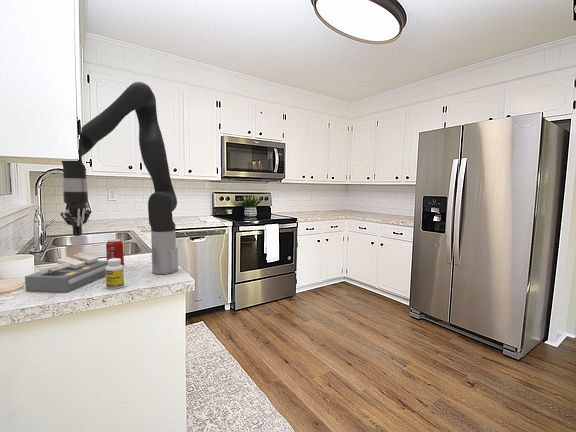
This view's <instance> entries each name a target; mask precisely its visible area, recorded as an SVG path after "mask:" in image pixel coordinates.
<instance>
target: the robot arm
mask: <svg viewBox="0 0 576 432" xmlns="http://www.w3.org/2000/svg"><path fill="white" fill-rule="evenodd" d="M133 111H134V112H135V114H136V117H137V121H138V142H139V143H138V145H139V150H140V154H141V160H142V162H143V165H144V166H145V168H146V171H147V172H148V174H149V176H150V177H151V180H152V183H153V189H154V192H153V193H151V195H150V196H149V197H148V201H147V212H148V223H149V226H150V232H151V234H150V236H151V238H150V239H151V267H152V270H151V272H152V274H155V275H167V274H173V273H175V272H176V271H178V270H179V249H178V248H179V247H178V246H177V245H176V244H177V243H176V242H177V241H176V239H177V238H176V223H175V222H174V219H173V212H174V210H175V209H176V208H177V206H178V201H177V196H176V193H175V189H174V185H173V183H172V179H171V176H170V175H171V173H170V168H169V163H168V158H167V157H168V156H167V152H166V147H165V143H164V138H163V135H162V130H161V128H160V126H159V121H158V113H157V100H156V95H155V94H154V92H153V90H152V88H151V87H150V86H149V85H148V84H147V83H145V82H142V81H134V82H132V83H131V84H130V85H129V86H128V87H126V88H125V89H124V91H123V92H122V93H121V94H120V96H118V97H117V98H116V99H115V100H114V101H113V102H112V103H111V104H109V106H108V107H106V108H105V109H104V110H103V111H101V112H100V113H98V115H96V116H95V117H93V118H92V119H91V120H89V121H88V122H87V123H85V124H84V125H83V126H82V127H81V129H80V132H81V134H80V139H79V160H78V161H61V164H62V177H63V180H62V181H63V182H62V190H63V202H64V204H66V206H65V211H63V212H60V213H59V214H60V216H61V217H62V219H63V220H64V222H65V223H66V224H67V226H71V227H72V234H73V236H75V237H79V236H82V235H83V228H82V227H83V225H85V224H87V222H88V220H89V218H90V216H91V213H92V210H91V209H90V210H88V209H87V205H86V204H87V203H88V202H89V195H88V182H87V181H88V180H87V169H86V166H85V164H84V162H83V156H85V155H86V154H87V153H89V152H90V150H92V149H93V148H94V147H95V145H96V144H98V143H99V141H101V140H103V139H104V138H106V137H107V136H108V135H110V134H111V133H112V132H113V131H114V130H115V129H116V128H117V127H118V126H119V124H120V123H121V122H122V120H124V119H125V118H126V116H128V115H129V114H130V113H132V112H133Z"/></svg>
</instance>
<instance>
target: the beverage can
mask: <svg viewBox="0 0 576 432" xmlns="http://www.w3.org/2000/svg"><path fill="white" fill-rule="evenodd" d="M105 245H106V246H105V249H106V250H105V252H106V261H108V260H109V259H114V258H119V259H121V263H120V264H121V265H123V266H124V265H125V261H124V260H125V259H124V258H125V256H124V255H125V254H124V252H125V251H124V243H123V241H122V239H121V238H120V239H117V238H115V239H108V240H107V242H106V244H105Z"/></svg>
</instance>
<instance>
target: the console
mask: <svg viewBox="0 0 576 432" xmlns="http://www.w3.org/2000/svg"><path fill="white" fill-rule="evenodd" d="M107 266H109V265H108V261H107V260H98V261H96V262H93V263H90V264H88V263H85V265H84V266H82V267H79V268H76V269H74V268H70V267H68V268H63V270H60V271H57V272H54V273H51V274H49V273H48V272H47V273H43V274H40V271H37V272H34V273H32V274H28V275H26V276H24V282H25V284H24V285H25V292H36V293H37V292H41V293H65V294H67V293H69V292H71V291H73V290H77V289H78V288H81V287H82V286H84V285H87V284H89V283H91V282H94V281H96V280H98V279H101V278H103V277H106V267H107Z"/></svg>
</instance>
